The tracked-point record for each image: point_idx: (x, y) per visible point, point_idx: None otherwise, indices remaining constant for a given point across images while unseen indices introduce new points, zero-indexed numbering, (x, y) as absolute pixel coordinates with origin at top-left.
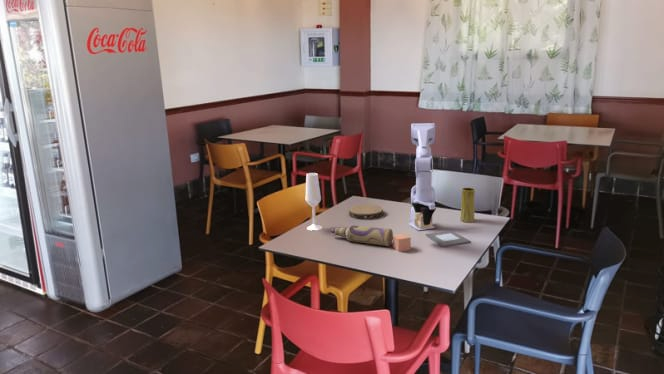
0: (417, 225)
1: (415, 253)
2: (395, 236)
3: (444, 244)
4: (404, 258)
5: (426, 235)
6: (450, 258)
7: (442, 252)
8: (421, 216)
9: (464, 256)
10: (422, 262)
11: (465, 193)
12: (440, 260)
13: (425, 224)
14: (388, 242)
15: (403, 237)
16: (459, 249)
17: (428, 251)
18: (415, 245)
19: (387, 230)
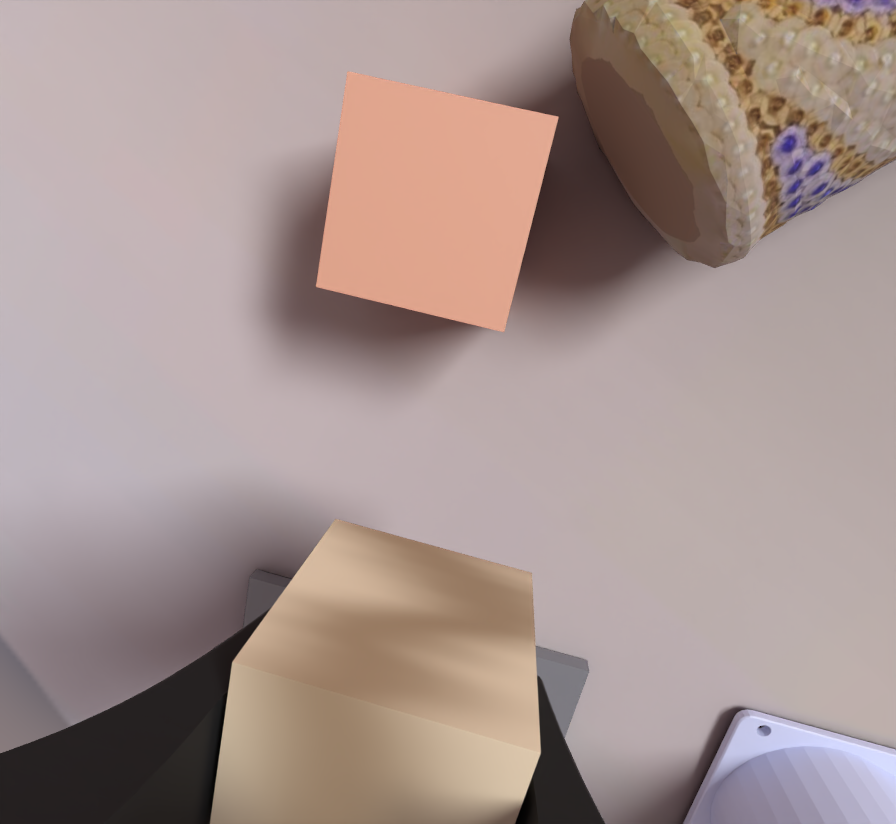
0: (426, 558)
1: (256, 254)
2: (482, 116)
3: (264, 603)
4: (197, 51)
5: (567, 661)
6: (18, 431)
7: (158, 476)
8: (231, 679)
9: (12, 546)
10: (32, 151)
11: None
12: (11, 331)
13: (266, 613)
14: (580, 80)
15: (371, 197)
16: (150, 624)
17: (237, 396)
18: (435, 406)
19: (689, 49)
